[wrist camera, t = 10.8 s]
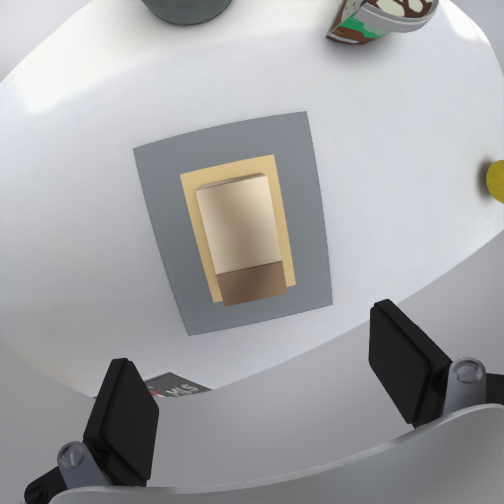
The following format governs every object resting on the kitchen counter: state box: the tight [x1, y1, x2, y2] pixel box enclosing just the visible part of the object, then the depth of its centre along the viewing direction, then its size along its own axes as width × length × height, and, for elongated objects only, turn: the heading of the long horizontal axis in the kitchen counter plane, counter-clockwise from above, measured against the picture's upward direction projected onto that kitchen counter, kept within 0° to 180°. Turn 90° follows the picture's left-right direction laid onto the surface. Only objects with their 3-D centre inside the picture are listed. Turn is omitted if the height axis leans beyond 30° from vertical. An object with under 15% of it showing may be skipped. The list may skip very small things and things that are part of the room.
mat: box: [133, 111, 333, 336], centre depth 27 cm, size 16×20×1 cm
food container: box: [326, 0, 439, 45], centre depth 17 cm, size 12×6×10 cm, turn 158°
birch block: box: [196, 172, 287, 307], centre depth 25 cm, size 6×10×4 cm, turn 11°
